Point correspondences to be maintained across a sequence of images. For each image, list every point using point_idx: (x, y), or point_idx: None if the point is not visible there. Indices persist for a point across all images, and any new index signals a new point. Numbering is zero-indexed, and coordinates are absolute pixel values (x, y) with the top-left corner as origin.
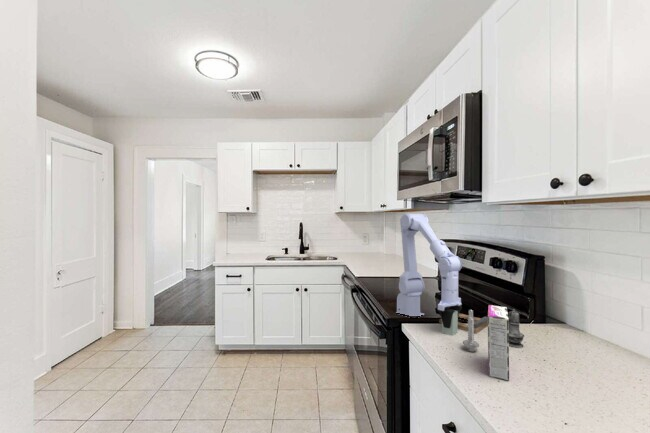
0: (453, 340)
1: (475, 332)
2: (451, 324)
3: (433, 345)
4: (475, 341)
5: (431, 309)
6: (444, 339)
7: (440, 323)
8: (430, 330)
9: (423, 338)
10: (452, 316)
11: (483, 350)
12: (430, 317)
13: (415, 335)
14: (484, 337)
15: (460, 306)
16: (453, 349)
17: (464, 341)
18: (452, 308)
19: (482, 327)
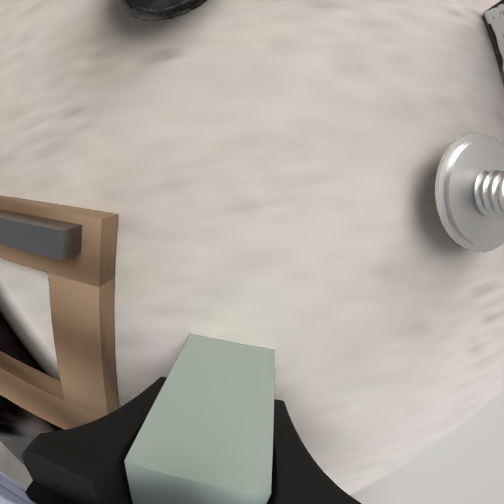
0: (363, 323)
1: (113, 220)
2: (272, 411)
3: (477, 377)
4: (455, 162)
5: (8, 446)
6: (375, 370)
7: None
8: None
9: (409, 441)
10: (270, 465)
11: (418, 113)
12: None
13: (385, 472)
14: (150, 144)
15: (58, 470)
16: (492, 282)
17: (493, 238)
18: (120, 500)
19: (16, 201)
